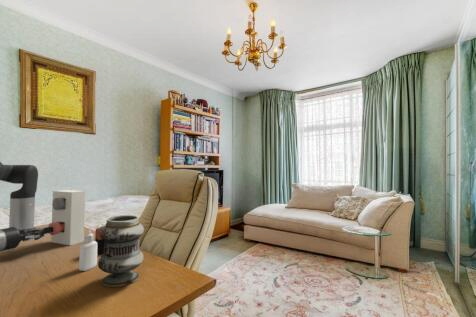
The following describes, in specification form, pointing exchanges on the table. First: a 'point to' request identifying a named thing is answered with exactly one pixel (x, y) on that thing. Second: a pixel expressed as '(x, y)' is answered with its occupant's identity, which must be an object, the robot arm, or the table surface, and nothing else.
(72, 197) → the box
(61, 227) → the lower red button
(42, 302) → the table surface
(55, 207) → the upper grey button
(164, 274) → the table surface
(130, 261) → the apothecary jar
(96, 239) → the battery
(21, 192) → the robot arm
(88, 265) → the eye dropper bottle
